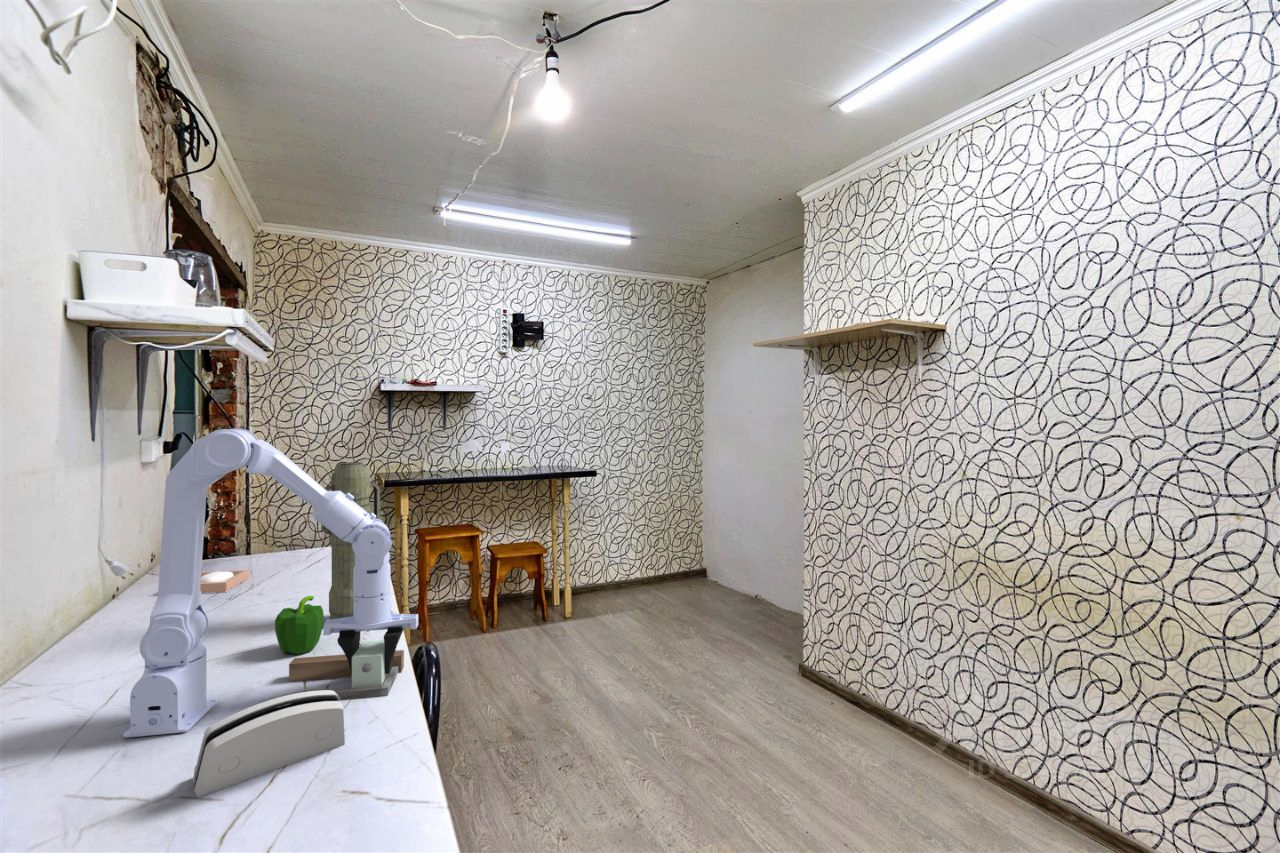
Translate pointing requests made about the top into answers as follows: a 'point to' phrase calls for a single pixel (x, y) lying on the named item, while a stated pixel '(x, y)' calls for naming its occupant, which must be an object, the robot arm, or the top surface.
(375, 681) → the cabinet block
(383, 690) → the wall board
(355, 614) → the robot arm
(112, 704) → the top surface
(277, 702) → the grey napkin holder
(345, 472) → the thermos
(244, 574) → the tan flat square tray
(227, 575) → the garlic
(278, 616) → the bell pepper
